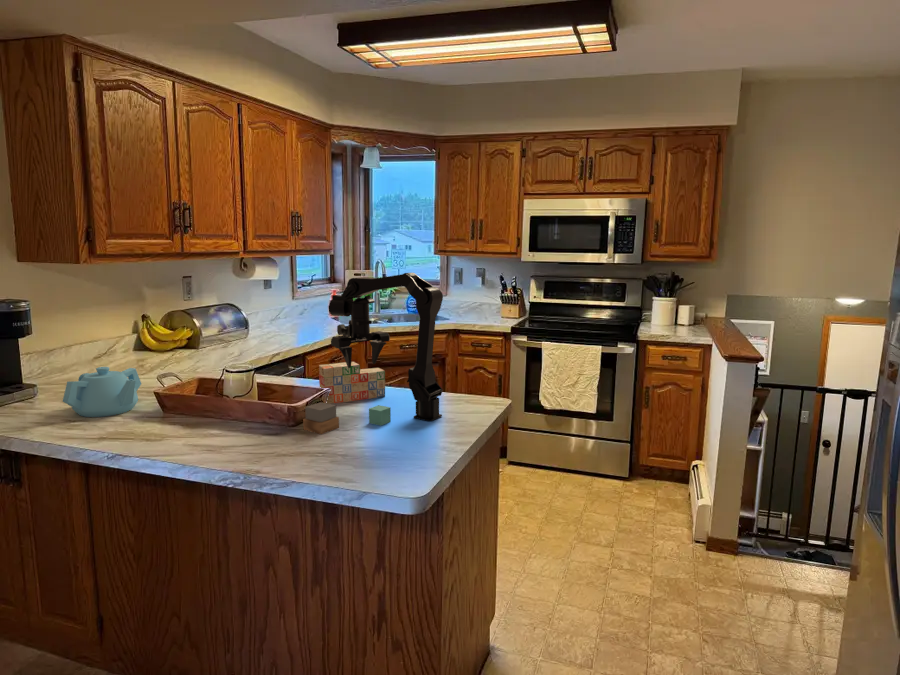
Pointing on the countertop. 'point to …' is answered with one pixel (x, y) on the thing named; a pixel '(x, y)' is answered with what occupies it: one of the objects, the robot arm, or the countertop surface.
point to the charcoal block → (320, 412)
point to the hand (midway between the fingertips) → (361, 365)
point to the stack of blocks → (351, 382)
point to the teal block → (379, 415)
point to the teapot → (103, 392)
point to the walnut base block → (321, 425)
